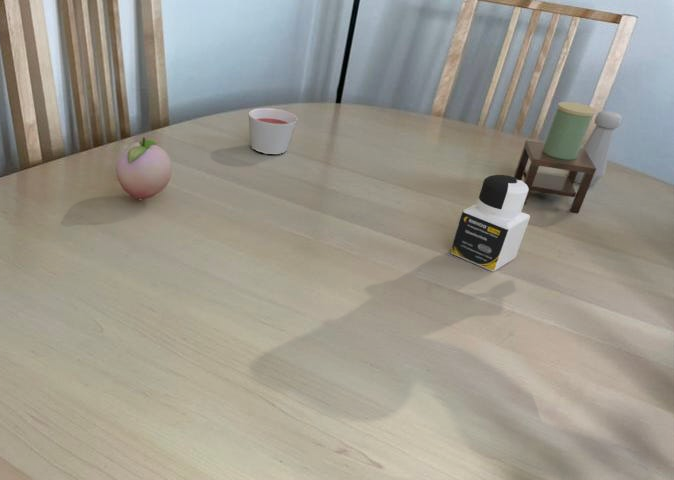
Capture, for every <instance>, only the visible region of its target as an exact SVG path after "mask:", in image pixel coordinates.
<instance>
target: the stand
mask: <svg viewBox="0 0 674 480" xmlns="http://www.w3.org/2000/svg"><path fill="white" fill-rule="evenodd" d="M544 145H545V142H540V141H534V140H528V139H526V140H525V142H524V145H523V148H522V150H521V154H520V157H519V160H518V163H517V166H516V169H515V172H514V175H513V177H515V178H517V179H520V180H521V181H522V180H523V178H524V181H523V182H524V183H525V184H526V185H527V186H528V188H529V191H528V194H527V196H526V199H525V202H524V205H526V203H527V201H528V198H529V195H530V193H531V191H533V192H540V193H546V194H552V195H558V196H564V197H570V198H573V200H572V204H571V206H570V210H569V211H570V212H571V213H574V214H575V213H576V214H579V213H580V211H581V208H582V206H583V203H584V200H585V198H586V195H587V193H588V191H589V188H590V186H591V185H590V183H591V181H592V178H593V176H594V173H595V171H596V167H595V166H594V164H593V162H592V161H591V159H590V157H589V156H588V154H587V152H586V151H585V149H582V147H581V148H580V151H579V154H578V156H577V158H576V159H573V160H565V159H559V158H555V157H552V156H549V155H547V154H545V153H544V152H543V148H544ZM529 161H530V164H529V167H528V170H526V169H527V164H528V162H529ZM539 167H544V168H551V169H556V170H564V171H568V173H567V175H566V176H562V175H555V174H551V173H550V174H549V173H543V172H538V170H539ZM578 172H583V173H584V175H583V178H582V180H581V183H579V186H578V188H577V191H576V190H575V187H574V186H573V185H574V183H575V178H576V175H577V173H578Z"/></svg>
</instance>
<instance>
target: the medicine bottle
mask: <svg viewBox="0 0 674 480" xmlns="http://www.w3.org/2000/svg"><path fill="white" fill-rule="evenodd" d="M528 191H529V188H528V186H527V185H526V184H525V183H524V181H523V180H522V179H521V180H520V179H517V178H515V177H514V176H512V175H507V174H493V175H489V176H487V177H486V178H484V180H483V183H482V186H481V188H480V193H479V196H478V199H477V203H475V204H473V205H471V206H469V207H467V208H465V209H463V210H462V212H461V216H460V219H459V222H458V225H457V228H456V232H455V236H454V239H453V241H452V244H451V248H450V254H451V255H453V256H455V257H457V258H460V259H462V260H465V261H466V262H468V263H471V264H474V265H475V266H477V267H480V268H483V269H485V270H488V271H490V272H491V273H492V272H493V273H494V272H495V271H497V270H499V269H500V268H502V267H503V266H505V265H507V264H509V263H510V262H512V261H513V260H515V259H516V257H517V254H518V251H519V249H520V246H521V243H522V241H523V238H524V235H525V232H526V231H527V228H528V224H529V222H530V219H531V215H530V214H528V213H525V212H523V208H524V205H525V204H524V202H525V199H526V196H527V194H528Z"/></svg>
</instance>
